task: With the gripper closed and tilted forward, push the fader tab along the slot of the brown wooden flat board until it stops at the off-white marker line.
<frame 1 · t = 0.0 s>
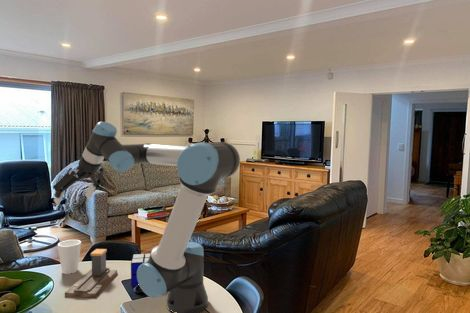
hand: (72, 199, 137), 36 cm above the table, tool tilted 35°, fingers open, 13 cm apart
puzzle cube: (144, 280, 147), on the table
brown wooden flat board: (92, 284, 143), on the table
foam cup: (70, 271, 155), on the table
fader tab: (98, 262, 148), point 7 cm above the table, slide at -6.0 cm
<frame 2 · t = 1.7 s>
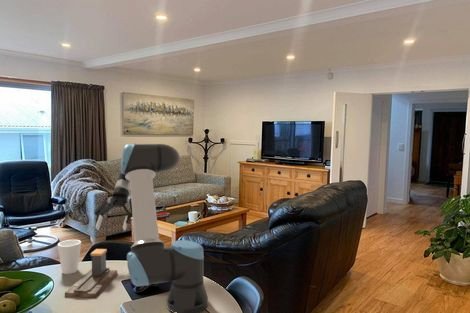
hand: (110, 228, 160), 18 cm above the table, tool tilted 45°, fingers open, 12 cm apart
nothing on the table moved.
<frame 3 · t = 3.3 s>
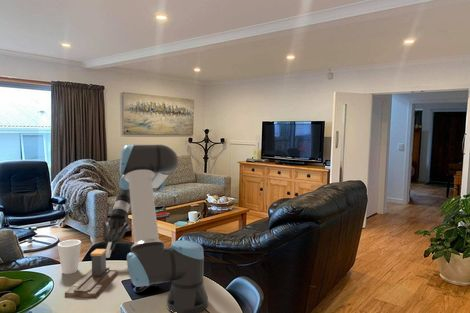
hand: (107, 256, 157), 6 cm above the table, tool tilted 45°, fingers closed
nothing on the table moved.
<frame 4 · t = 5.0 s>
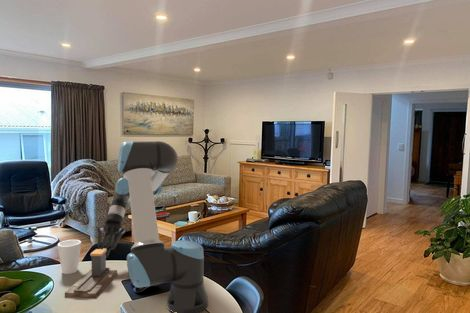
hand: (101, 263, 152), 5 cm above the table, tool tilted 45°, fingers closed
fader tab: (98, 262, 148), point 7 cm above the table, slide at -5.8 cm, touching gripper
everything else where it was.
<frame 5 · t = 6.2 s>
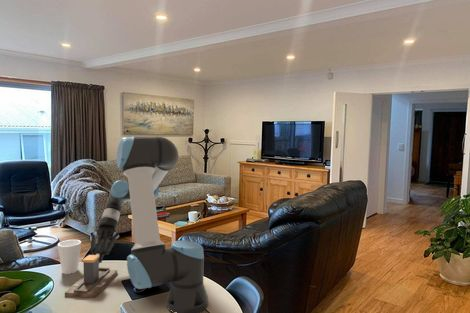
hand: (94, 269, 145), 5 cm above the table, tool tilted 45°, fingers closed
fader tab: (91, 269, 141), point 7 cm above the table, slide at 1.2 cm, touching gripper
everything else where it was.
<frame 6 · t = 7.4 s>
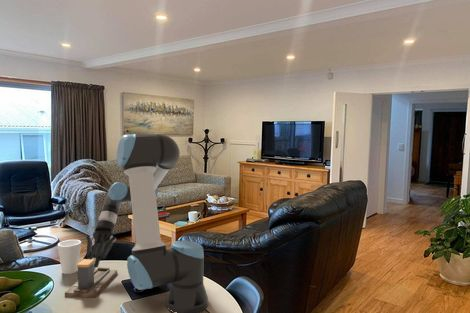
hand: (90, 274, 140), 5 cm above the table, tool tilted 45°, fingers closed
fader tab: (85, 274, 136), point 7 cm above the table, slide at 5.9 cm, touching gripper
everything else where it was.
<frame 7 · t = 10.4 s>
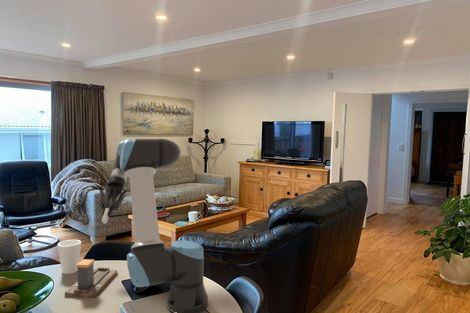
hand: (104, 222, 153), 23 cm above the table, tool tilted 45°, fingers closed
fader tab: (85, 274, 136), point 7 cm above the table, slide at 6.2 cm
everything else where it was.
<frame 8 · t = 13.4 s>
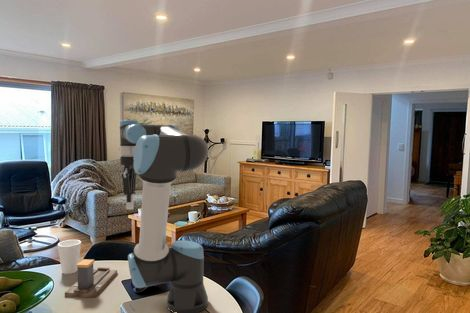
hand: (129, 209, 151), 29 cm above the table, tool pointing down, fingers closed
nothing on the table moved.
at the end: fader tab slide at 6.2 cm; fader tab touching nothing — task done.
